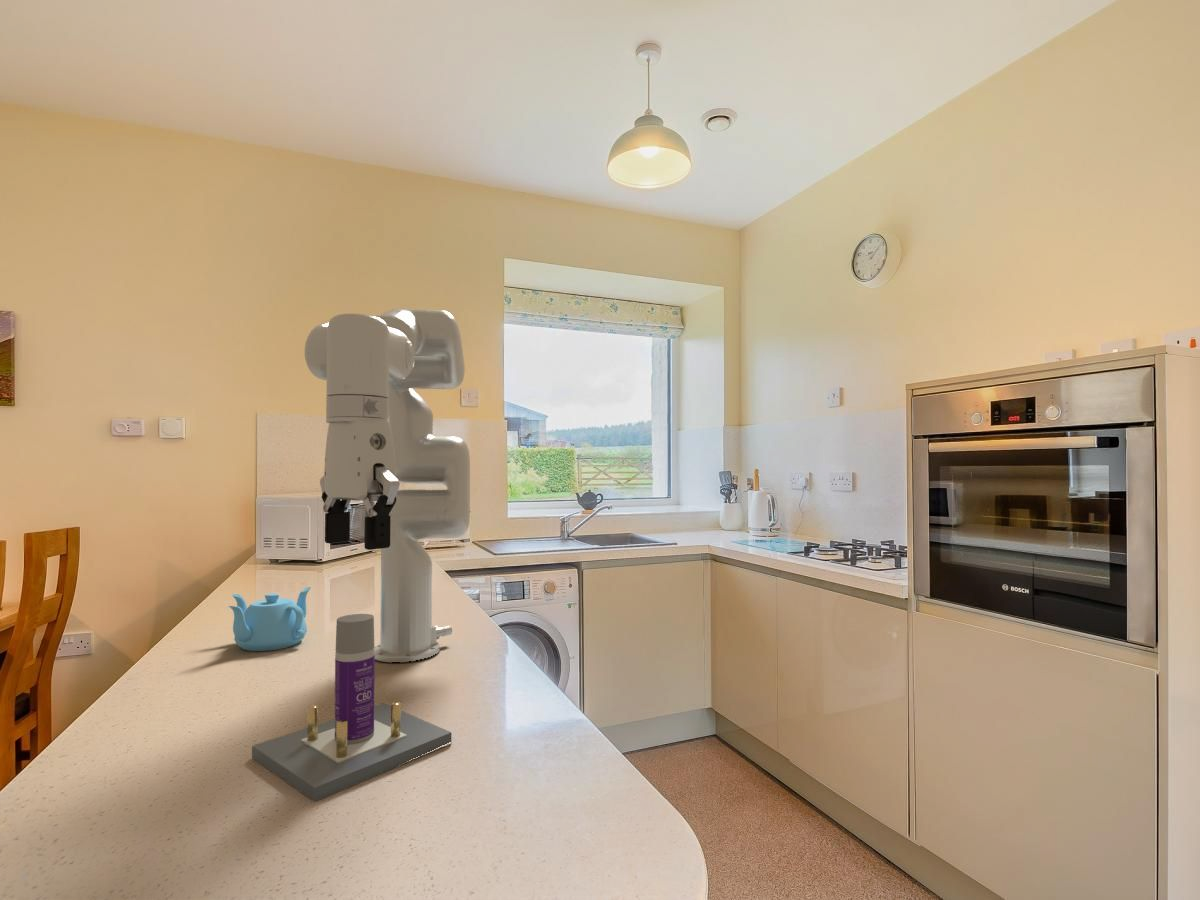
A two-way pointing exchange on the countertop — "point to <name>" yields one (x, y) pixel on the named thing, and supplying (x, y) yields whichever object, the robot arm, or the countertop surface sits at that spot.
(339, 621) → the container
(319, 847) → the countertop surface
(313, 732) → the standoffs
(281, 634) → the teapot
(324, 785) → the plate
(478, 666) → the countertop surface
